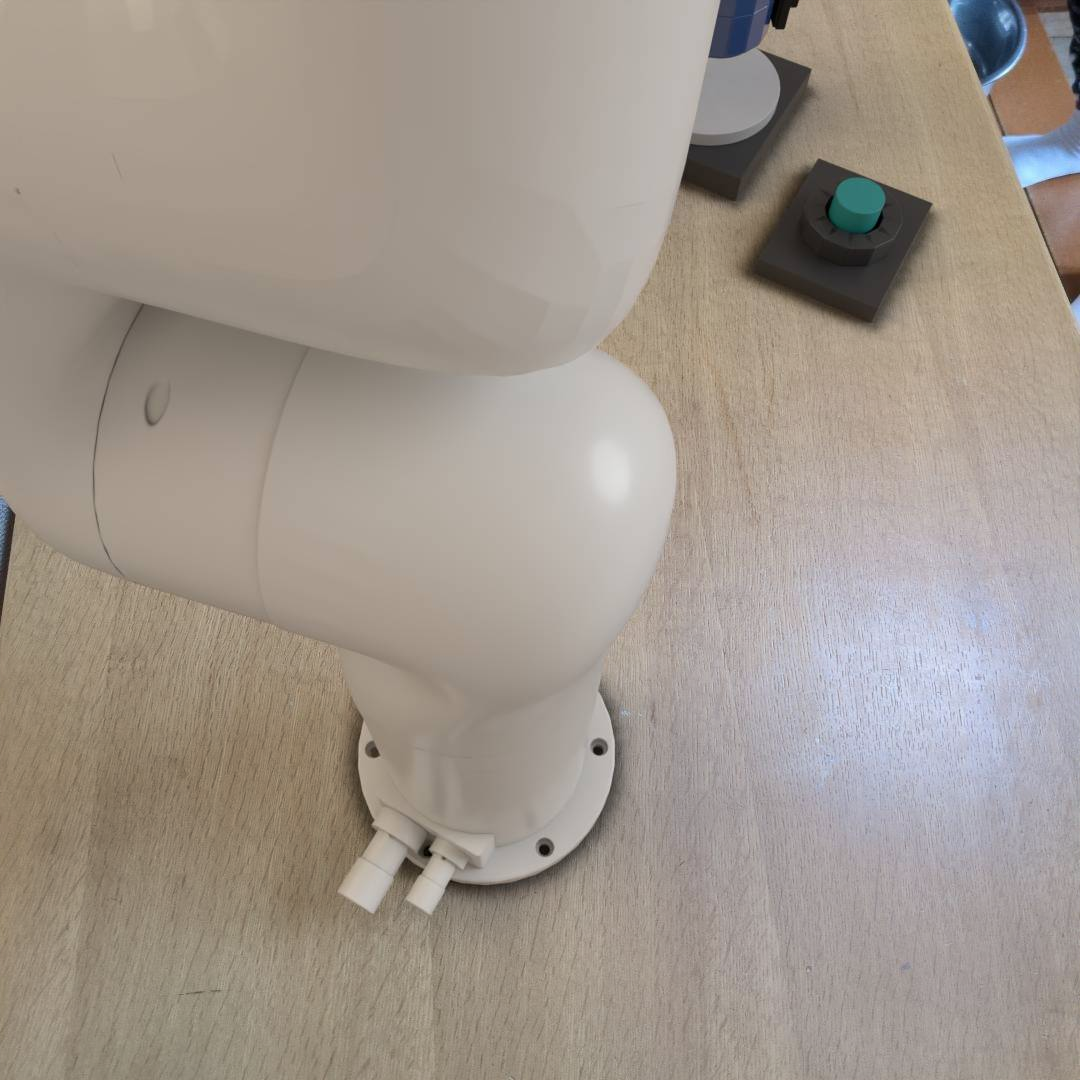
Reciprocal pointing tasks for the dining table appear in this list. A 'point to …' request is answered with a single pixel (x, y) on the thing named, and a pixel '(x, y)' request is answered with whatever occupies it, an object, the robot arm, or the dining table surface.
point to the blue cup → (740, 27)
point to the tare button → (856, 205)
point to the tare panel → (841, 245)
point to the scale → (740, 118)
